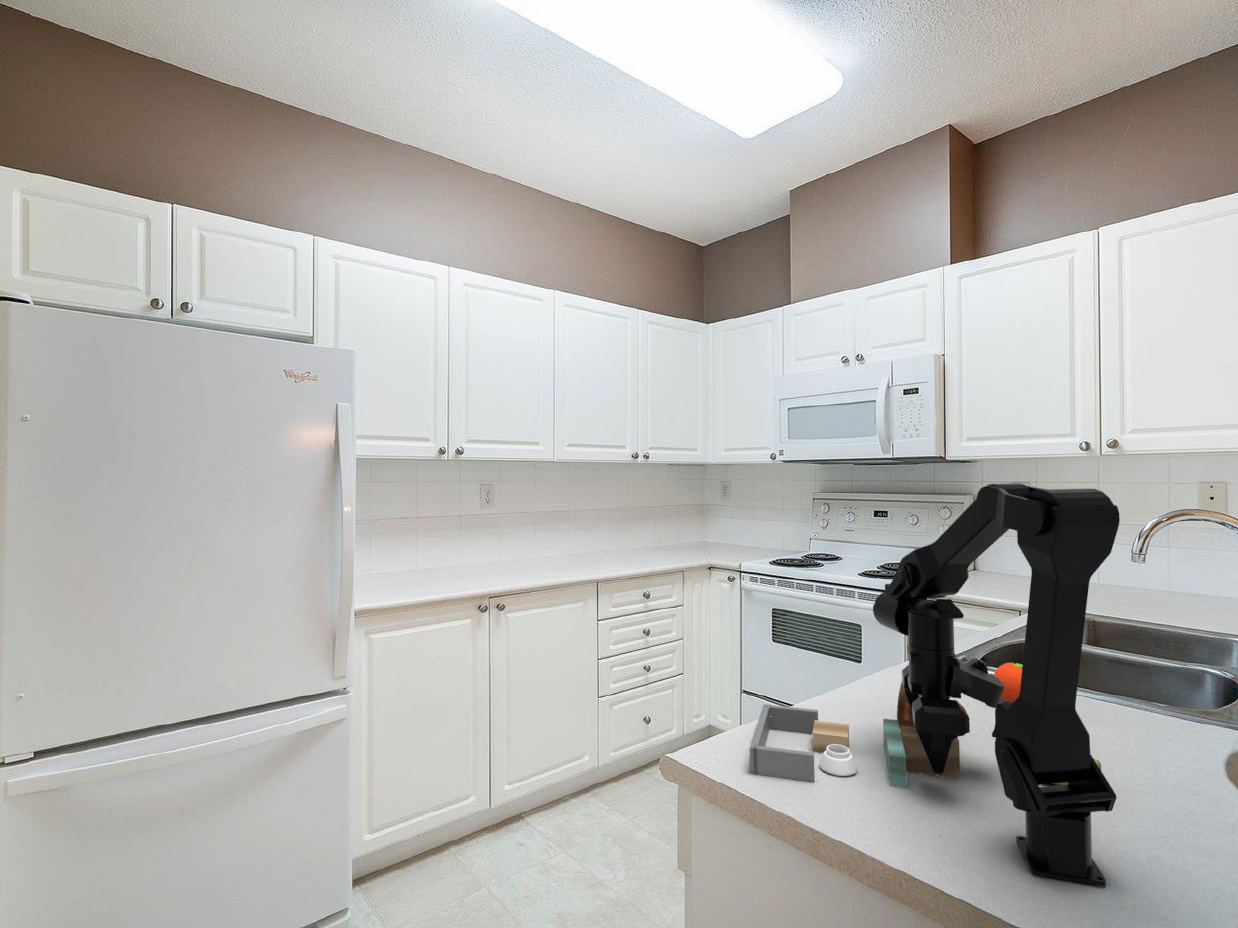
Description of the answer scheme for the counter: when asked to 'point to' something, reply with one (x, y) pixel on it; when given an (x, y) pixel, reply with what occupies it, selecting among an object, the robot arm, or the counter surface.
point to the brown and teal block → (912, 754)
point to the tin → (904, 709)
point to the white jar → (838, 761)
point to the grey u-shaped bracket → (778, 759)
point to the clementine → (1010, 680)
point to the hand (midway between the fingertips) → (933, 757)
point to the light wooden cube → (829, 735)
